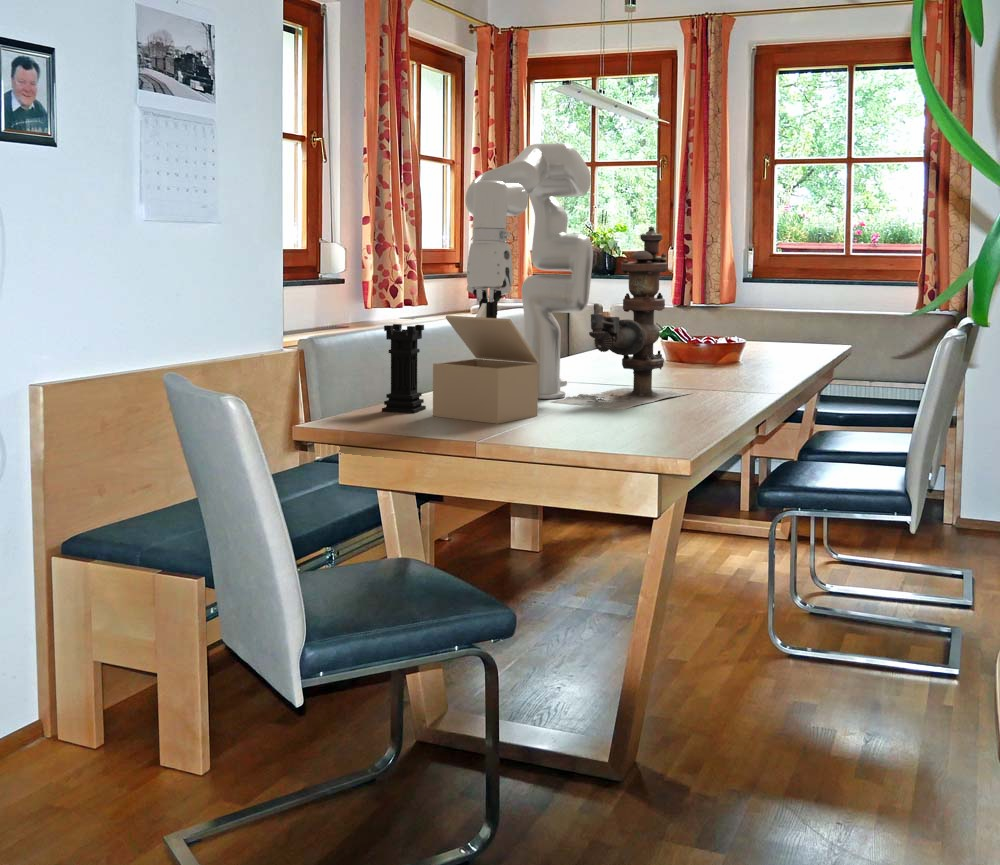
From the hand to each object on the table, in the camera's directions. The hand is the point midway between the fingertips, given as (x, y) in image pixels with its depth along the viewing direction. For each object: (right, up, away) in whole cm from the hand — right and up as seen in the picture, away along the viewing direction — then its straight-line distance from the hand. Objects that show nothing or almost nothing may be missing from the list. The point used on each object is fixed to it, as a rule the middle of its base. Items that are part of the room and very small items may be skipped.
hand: (488, 319), depth 252 cm
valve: (+35, -17, +41) cm, 57 cm away
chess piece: (-20, -21, +10) cm, 30 cm away
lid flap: (+1, -5, +2) cm, 5 cm away
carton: (-1, -22, +3) cm, 22 cm away
